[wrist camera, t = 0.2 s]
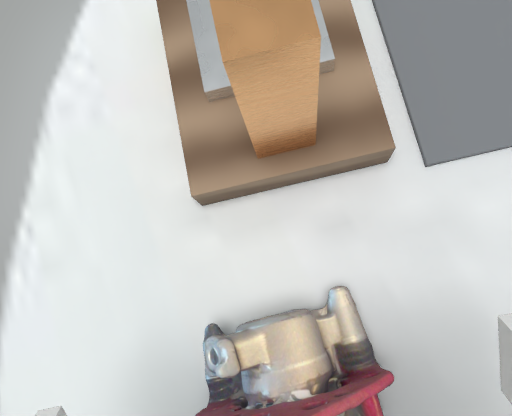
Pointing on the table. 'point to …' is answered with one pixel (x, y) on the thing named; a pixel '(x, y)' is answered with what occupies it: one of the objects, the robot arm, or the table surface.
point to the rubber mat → (452, 72)
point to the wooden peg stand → (234, 129)
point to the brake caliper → (295, 365)
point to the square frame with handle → (265, 65)
